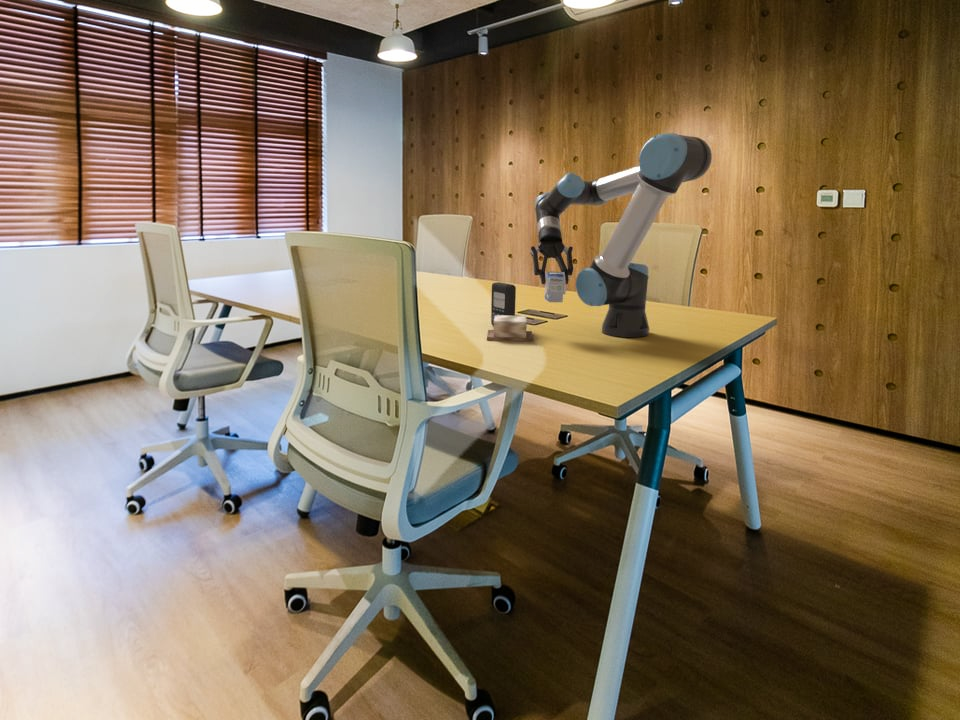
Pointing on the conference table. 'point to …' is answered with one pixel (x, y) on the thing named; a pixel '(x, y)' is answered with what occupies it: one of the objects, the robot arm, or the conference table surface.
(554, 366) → the conference table surface
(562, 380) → the conference table surface
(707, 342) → the conference table surface
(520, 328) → the build base
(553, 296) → the medicine box
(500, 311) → the card reader
